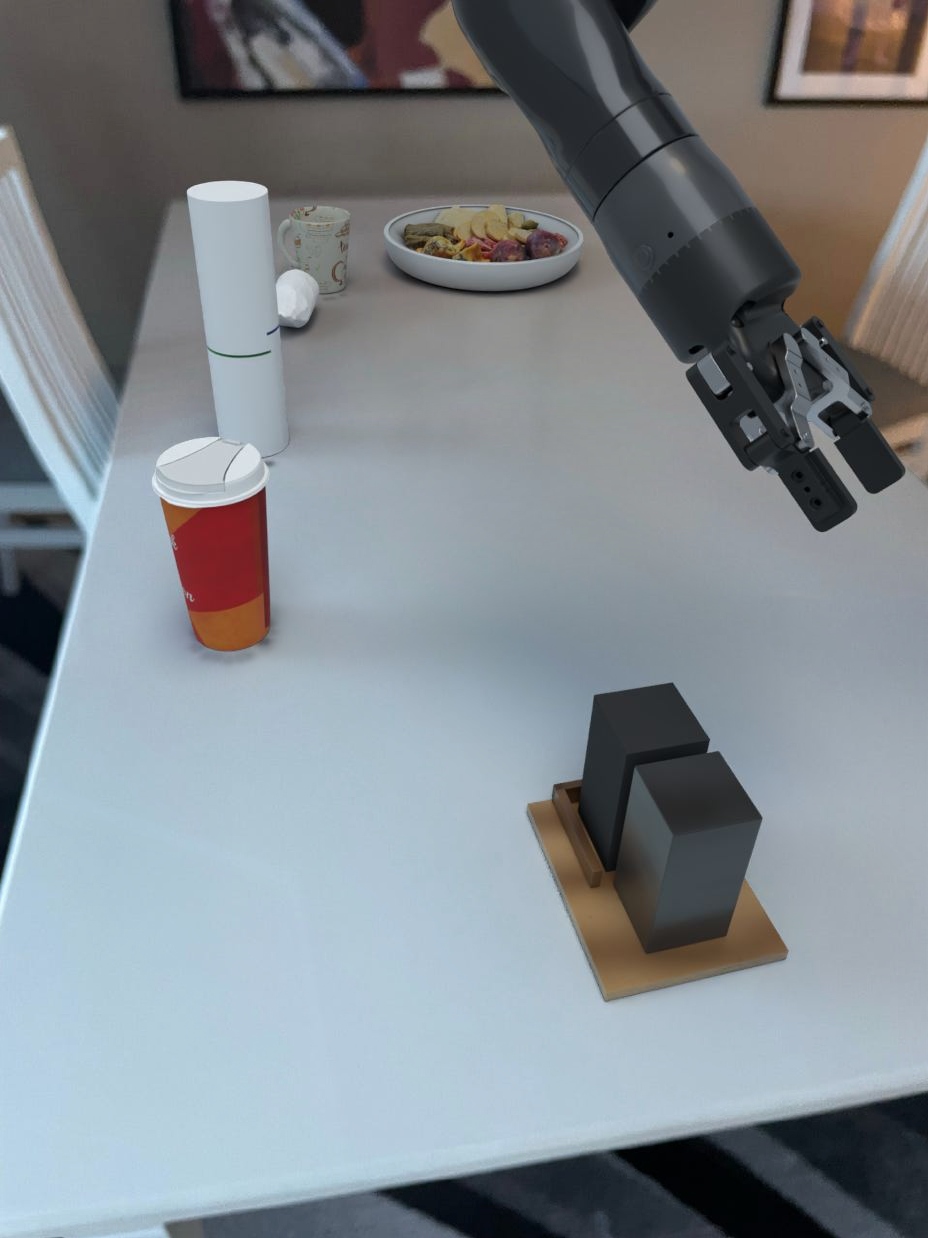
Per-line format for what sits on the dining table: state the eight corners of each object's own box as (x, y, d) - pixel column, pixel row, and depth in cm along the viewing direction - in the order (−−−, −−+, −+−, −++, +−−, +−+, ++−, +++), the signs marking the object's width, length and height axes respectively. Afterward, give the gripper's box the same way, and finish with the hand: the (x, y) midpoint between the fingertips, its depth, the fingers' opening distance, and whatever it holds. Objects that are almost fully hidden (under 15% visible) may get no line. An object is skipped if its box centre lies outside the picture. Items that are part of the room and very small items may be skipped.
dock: (526, 811, 65) (538, 686, 58) (681, 783, 67) (709, 659, 61) (605, 1001, 54) (630, 874, 48) (786, 959, 57) (834, 832, 50)
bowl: (343, 261, 153) (341, 207, 148) (480, 224, 170) (481, 175, 165) (485, 314, 136) (487, 256, 131) (620, 268, 153) (626, 215, 149)
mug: (329, 300, 139) (325, 226, 133) (259, 282, 144) (252, 210, 138) (364, 284, 145) (362, 212, 139) (296, 267, 150) (291, 197, 144)
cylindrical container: (302, 435, 106) (283, 187, 91) (264, 464, 101) (237, 205, 86) (245, 421, 109) (218, 176, 93) (206, 448, 103) (170, 194, 88)
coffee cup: (216, 588, 84) (192, 424, 75) (303, 611, 81) (289, 446, 72) (157, 645, 77) (122, 474, 68) (249, 672, 75) (226, 499, 66)
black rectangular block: (577, 811, 64) (593, 694, 58) (649, 798, 65) (673, 681, 59) (605, 872, 60) (626, 754, 54) (681, 857, 61) (710, 739, 55)
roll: (260, 341, 126) (256, 297, 123) (277, 308, 136) (273, 266, 133) (307, 343, 126) (304, 299, 123) (321, 309, 136) (318, 268, 133)
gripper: (688, 203, 46) (891, 496, 44) (797, 200, 56) (964, 437, 55) (579, 310, 51) (758, 576, 50) (698, 289, 61) (848, 508, 60)
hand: (866, 502), depth 52 cm, fingers open, 8 cm apart
